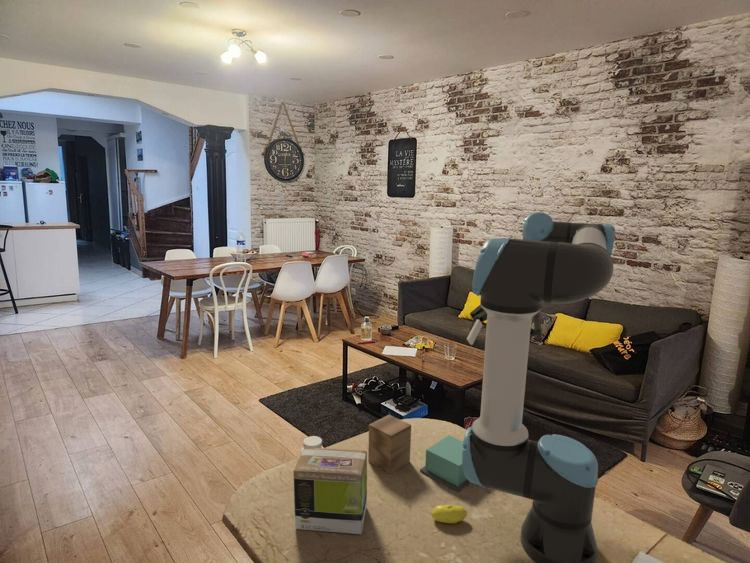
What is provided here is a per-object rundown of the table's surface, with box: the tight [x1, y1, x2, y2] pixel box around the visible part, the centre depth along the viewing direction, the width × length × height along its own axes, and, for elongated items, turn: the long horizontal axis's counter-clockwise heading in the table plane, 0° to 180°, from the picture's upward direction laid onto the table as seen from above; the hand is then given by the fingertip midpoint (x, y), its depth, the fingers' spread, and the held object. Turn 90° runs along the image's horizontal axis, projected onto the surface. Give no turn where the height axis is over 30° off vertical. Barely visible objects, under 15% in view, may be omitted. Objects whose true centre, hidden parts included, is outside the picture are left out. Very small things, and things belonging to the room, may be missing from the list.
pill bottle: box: [300, 435, 324, 455], centre depth 124 cm, size 6×6×11 cm
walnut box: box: [367, 414, 412, 475], centre depth 133 cm, size 8×8×11 cm
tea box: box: [293, 447, 368, 535], centre depth 110 cm, size 15×10×15 cm, turn 84°
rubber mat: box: [419, 466, 471, 493], centre depth 130 cm, size 12×12×1 cm
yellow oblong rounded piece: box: [431, 504, 468, 525], centre depth 111 cm, size 4×8×4 cm, turn 87°
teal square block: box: [425, 434, 467, 486], centre depth 129 cm, size 10×10×6 cm
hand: (491, 348), depth 128 cm, fingers open, 13 cm apart
